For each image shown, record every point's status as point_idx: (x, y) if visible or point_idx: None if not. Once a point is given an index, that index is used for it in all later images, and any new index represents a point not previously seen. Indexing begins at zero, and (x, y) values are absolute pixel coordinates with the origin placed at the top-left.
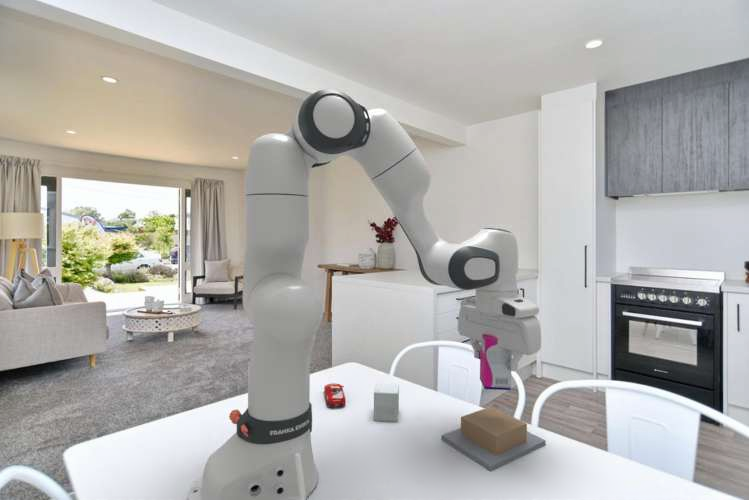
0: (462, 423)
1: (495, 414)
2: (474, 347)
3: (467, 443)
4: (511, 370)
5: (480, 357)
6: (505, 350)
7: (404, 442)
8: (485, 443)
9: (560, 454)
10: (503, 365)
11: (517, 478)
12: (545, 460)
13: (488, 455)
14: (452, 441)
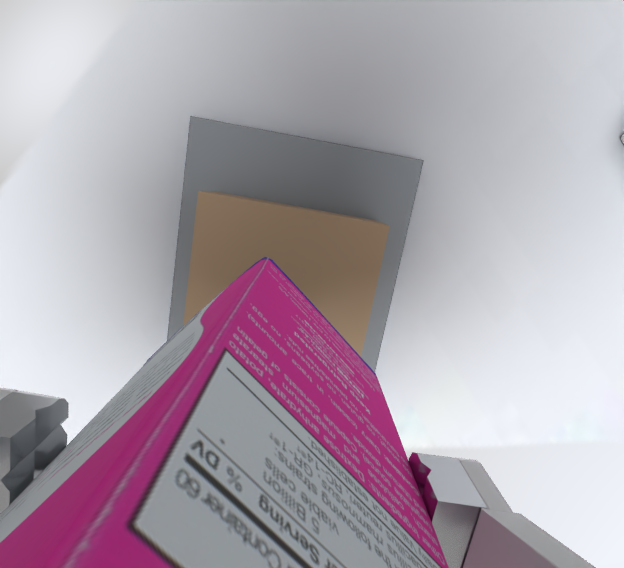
0: (376, 222)
1: None
2: (528, 542)
3: (324, 183)
4: (12, 389)
5: (403, 464)
6: None
7: (508, 36)
8: (260, 200)
9: (111, 368)
10: (98, 416)
11: (122, 150)
12: (122, 305)
13: (232, 171)
14: (369, 153)
